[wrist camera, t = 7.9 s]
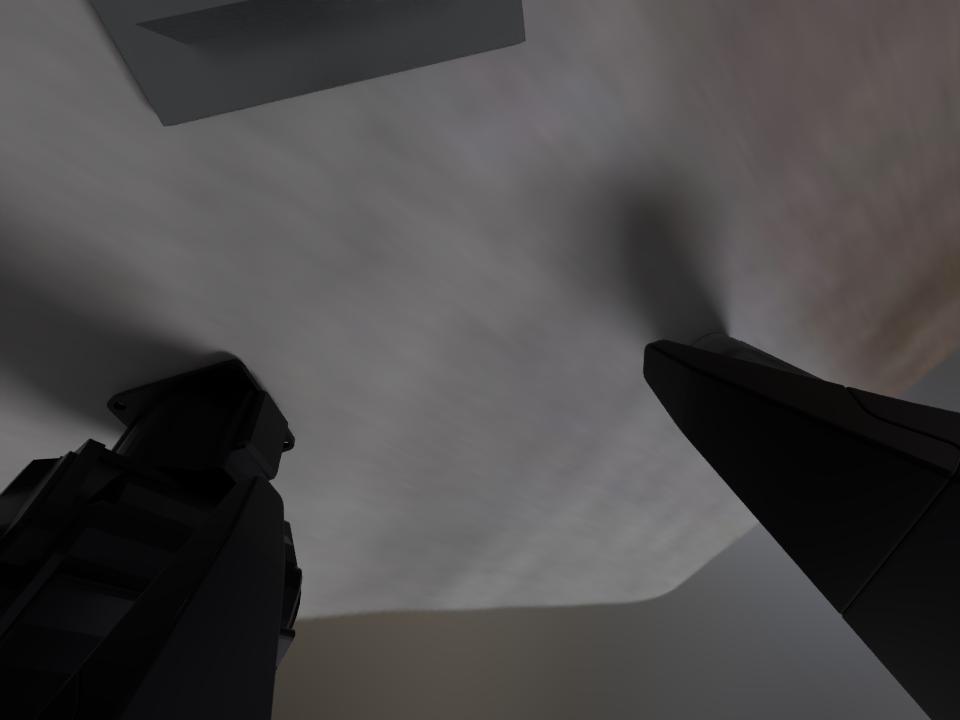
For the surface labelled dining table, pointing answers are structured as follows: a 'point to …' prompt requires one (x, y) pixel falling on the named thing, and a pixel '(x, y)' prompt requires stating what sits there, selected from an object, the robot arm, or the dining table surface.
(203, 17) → the base
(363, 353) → the dining table surface
